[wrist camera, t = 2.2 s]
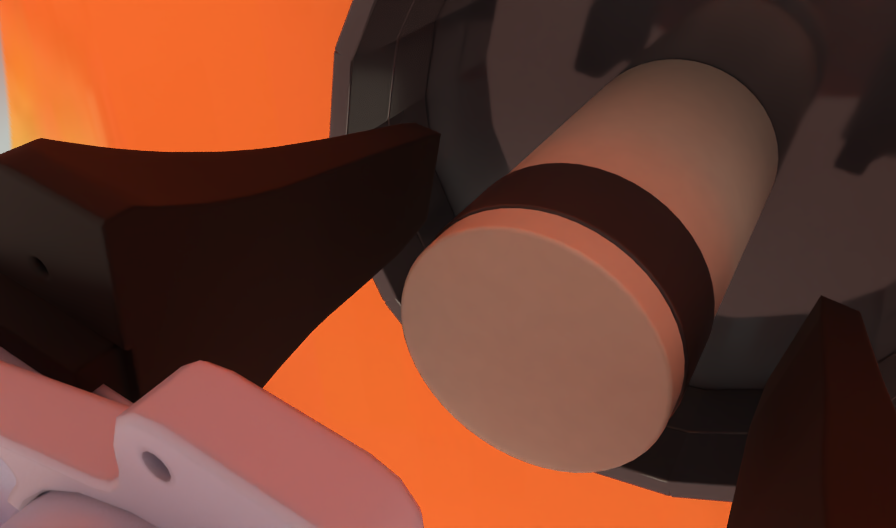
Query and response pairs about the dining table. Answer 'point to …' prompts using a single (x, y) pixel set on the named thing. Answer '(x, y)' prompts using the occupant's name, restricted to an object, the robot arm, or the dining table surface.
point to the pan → (586, 73)
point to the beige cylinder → (594, 269)
